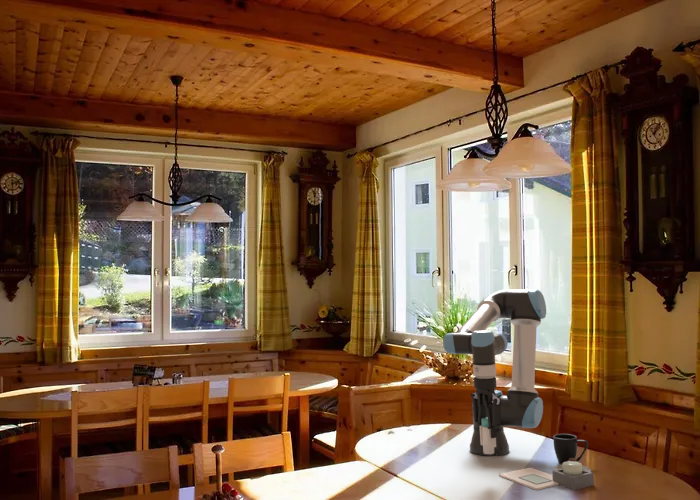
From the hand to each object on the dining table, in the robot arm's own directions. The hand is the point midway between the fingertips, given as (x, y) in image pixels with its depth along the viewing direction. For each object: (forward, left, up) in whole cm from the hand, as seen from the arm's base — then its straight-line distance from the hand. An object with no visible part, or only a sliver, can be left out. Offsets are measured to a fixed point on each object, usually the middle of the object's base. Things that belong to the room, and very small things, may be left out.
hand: (488, 445), depth 220 cm
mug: (+1, +37, -12) cm, 38 cm away
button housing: (+18, +20, -11) cm, 29 cm away
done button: (+18, +20, -9) cm, 28 cm away
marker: (0, 0, -2) cm, 2 cm away
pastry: (+8, +30, -12) cm, 34 cm away
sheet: (+7, +13, -11) cm, 19 cm away
